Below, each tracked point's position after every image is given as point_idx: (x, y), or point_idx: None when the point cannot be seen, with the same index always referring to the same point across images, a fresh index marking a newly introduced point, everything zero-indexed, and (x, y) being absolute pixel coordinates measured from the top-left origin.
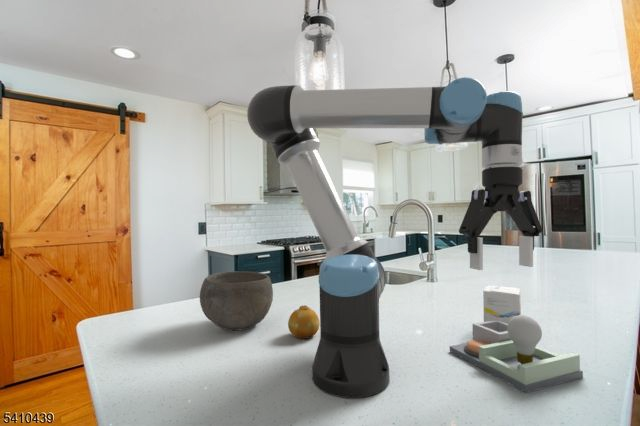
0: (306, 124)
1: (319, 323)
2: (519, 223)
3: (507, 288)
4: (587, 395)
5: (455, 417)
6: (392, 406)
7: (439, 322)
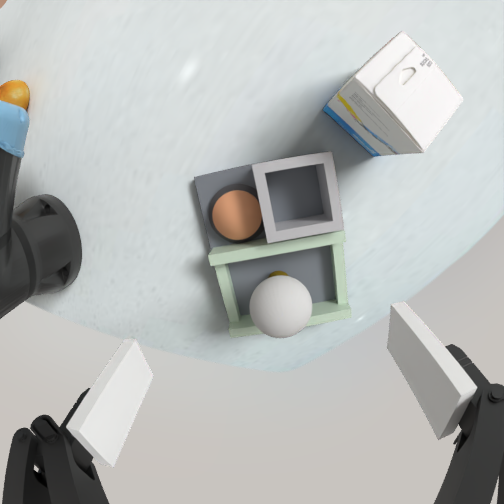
0: None
1: (22, 98)
2: (447, 494)
3: (435, 87)
4: (304, 338)
5: (131, 338)
6: (81, 307)
7: (265, 26)
